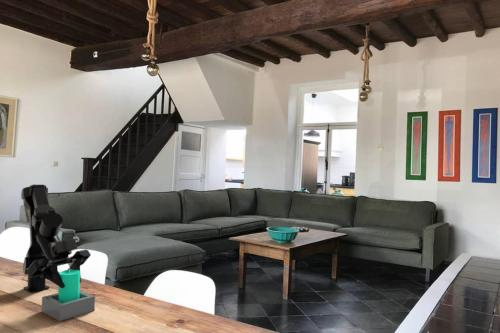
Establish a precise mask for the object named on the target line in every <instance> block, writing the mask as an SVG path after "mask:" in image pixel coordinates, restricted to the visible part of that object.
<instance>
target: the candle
mask: <svg viewBox="0 0 500 333" xmlns="http://www.w3.org/2000/svg"><path fill="white" fill-rule="evenodd" d="M68 267H69V266H68ZM59 274H60V276H61V279H62V281H63V283H64V285H65V287H64V288H61V287H59V286H58V293H59V297H58V301H59V302H61V303H65V302H69V301H73V300H77V299H80V290H81V288H80V287H81V282H80V275H81V270H80V271H79V270H72V269H70V267H69V270H68V269H66V270H62V271H60V272H59Z"/></svg>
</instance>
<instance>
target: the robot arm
mask: <svg viewBox="0 0 500 333" xmlns="http://www.w3.org/2000/svg"><path fill="white" fill-rule="evenodd" d="M20 196H21V197H20V198H21V200H22V201H23V206H24V207H25V209H27V211H28V222H29V223H28V224H29V239H30V247H29V248H28V250H27V252H26V254H25V257H24V259H23V264H22V272H23V274H24V275H27V286H23V290H25V291H27V292H29V293H34V292H39V291H44V290H47V289H50V286H49V285H46V283H47V282H46V280H47V281H50V282H51V283H53V284H54V285H56V286H58V288H59V287H61V288H64V287H65V285H64V283H63V281H62V279H61V276H60V274H59V273H60V272H59V270H58V267H60V266H62V265H63V266H64V265H68V267H70V269H72V270H79V271H80V272H81V266H82V265H84V264H85V263H86V262H87V261H88V259H89V258H90V257H91V252H90V251H89V250H88V249H82V250H78V247H79V246H81V245H82V244H81V243H82V242H81V239H80V238H79V237H78V236H76V235H75V236H72V237H70V238H69V239H65V240H60V237H59V233H60V231H61V227H62V225H63V221H64V219H63V217H62V215H61V214H59V213H57V211H56V208H54V207H53V206H51V205H50V202H49V201H50V200H49V188H48V187H47V185H46V184H30V185H29V186H26V187H23V188H22V189H21V195H20ZM73 250H77V251H75V253H74V254H73V255H72V253H73V252H72V251H73ZM70 255H72V256H70ZM67 270H69V268H68V269H67ZM80 283H82V276H81V274H80Z"/></svg>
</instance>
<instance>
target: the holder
mask: <svg viewBox="0 0 500 333" xmlns="http://www.w3.org/2000/svg"><path fill="white" fill-rule="evenodd" d="M58 297H59V292H57V293H53V294H48V295H44V296H42V297H41V313H43V314H46V315H47V316H49V317H51V318H53V319H55V320H56V321H59V322H62V321H65V320H68V319H72V318H75V317H78V316H82V315H84V314H88V313H92V312H94V311H95V310H96V308H95V306H96V304H95V303H96V295H93V294H91V293H88V292H86V291H83V290H81V289H80V299H77V300H73V301H69V302H65V303H61V302H59V301H58Z"/></svg>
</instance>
